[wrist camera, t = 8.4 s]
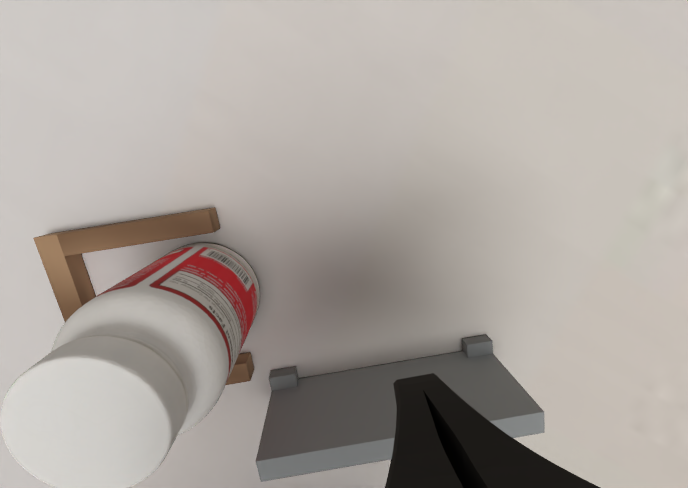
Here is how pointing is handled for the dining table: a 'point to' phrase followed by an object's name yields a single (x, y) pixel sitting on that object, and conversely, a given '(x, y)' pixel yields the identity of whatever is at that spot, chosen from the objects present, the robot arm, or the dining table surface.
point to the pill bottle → (132, 371)
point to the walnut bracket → (67, 246)
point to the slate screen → (378, 409)
